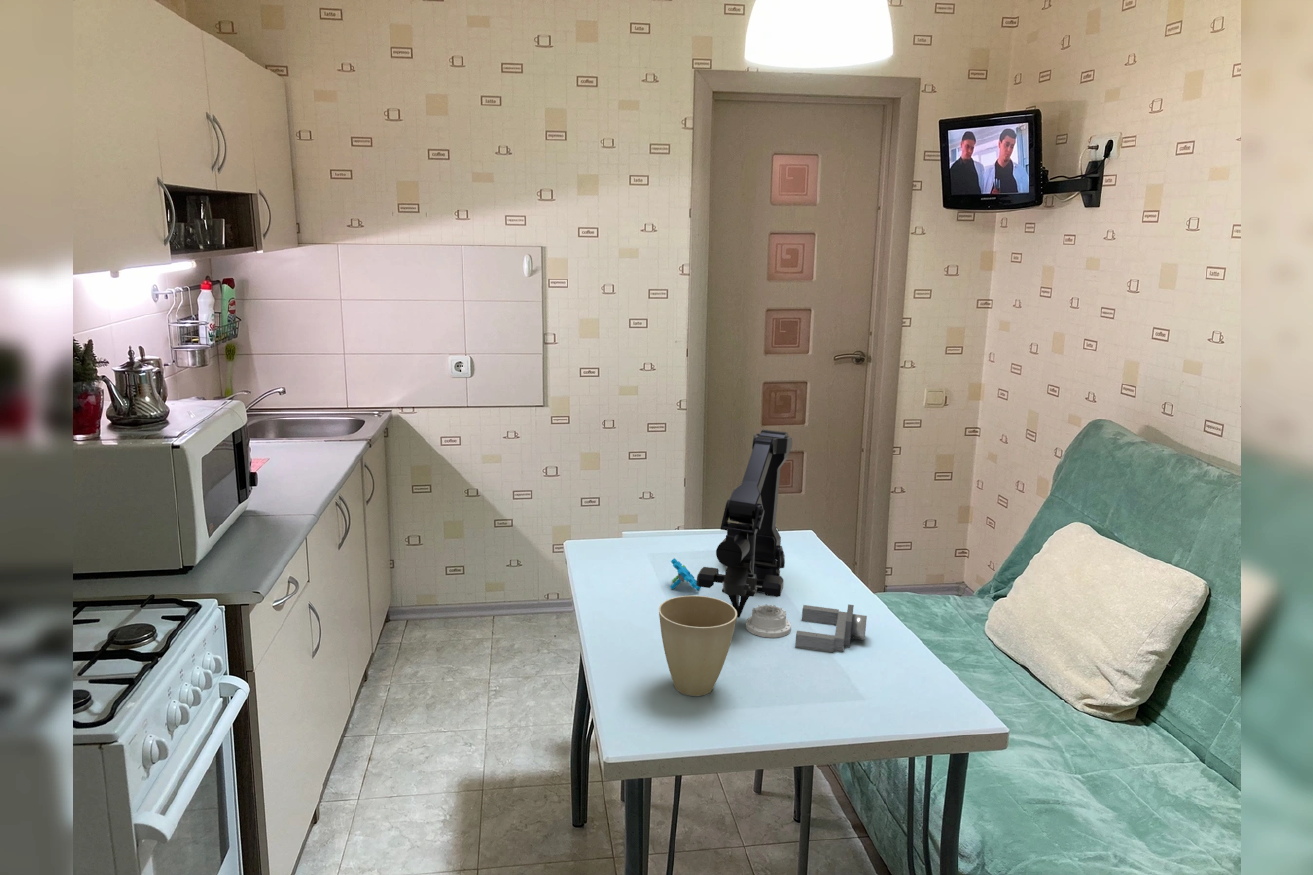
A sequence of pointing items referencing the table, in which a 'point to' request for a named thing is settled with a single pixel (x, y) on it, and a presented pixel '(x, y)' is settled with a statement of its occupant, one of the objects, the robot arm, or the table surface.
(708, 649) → the plant pot
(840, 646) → the clevis bracket
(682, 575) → the gear
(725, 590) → the robot arm
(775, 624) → the mechanical component
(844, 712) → the table surface
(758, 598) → the table surface
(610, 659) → the table surface
